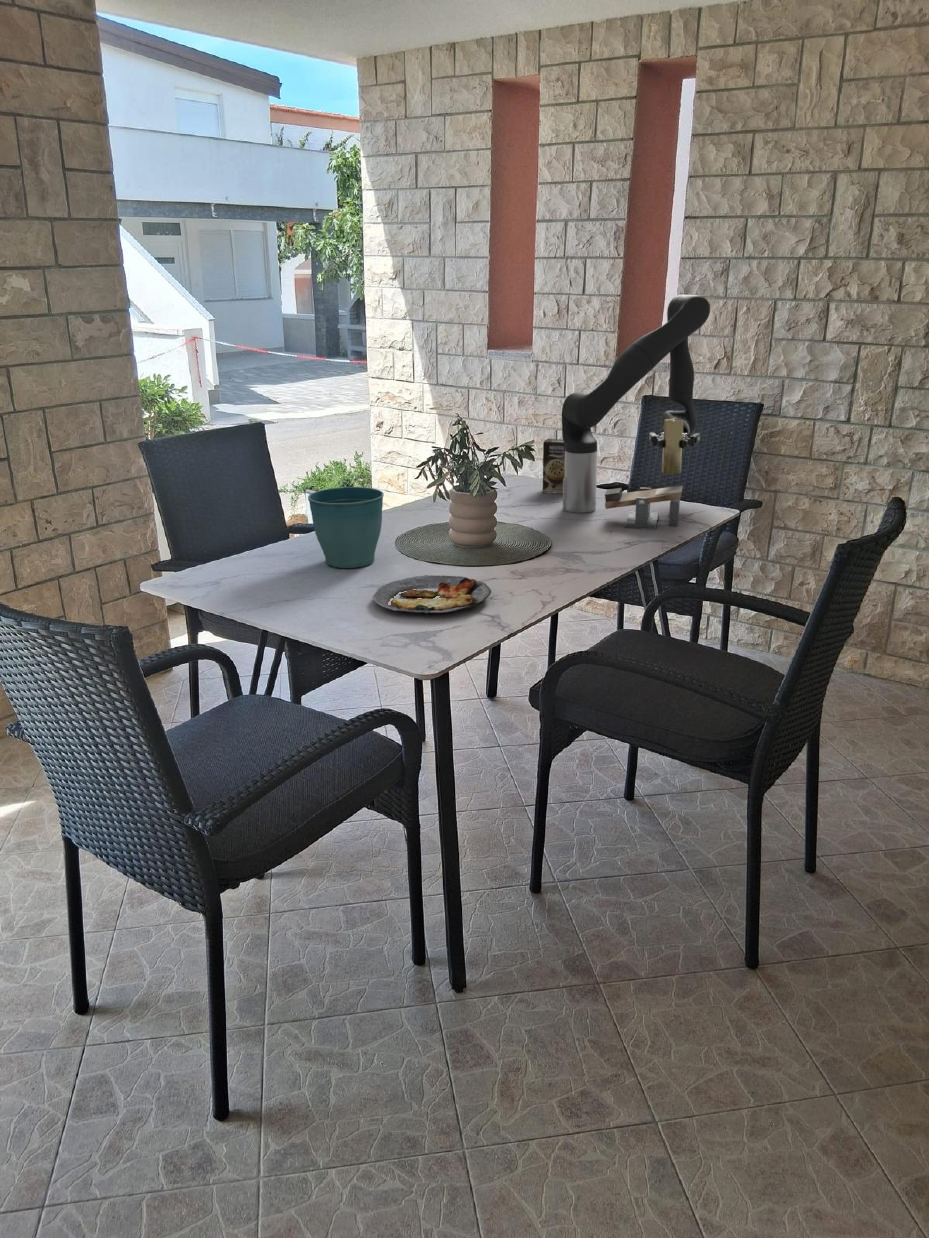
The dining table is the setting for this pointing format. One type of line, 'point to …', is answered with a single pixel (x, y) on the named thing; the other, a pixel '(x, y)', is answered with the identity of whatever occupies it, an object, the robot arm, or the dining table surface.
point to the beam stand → (650, 514)
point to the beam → (654, 495)
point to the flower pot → (347, 524)
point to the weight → (672, 446)
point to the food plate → (433, 594)
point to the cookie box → (553, 465)
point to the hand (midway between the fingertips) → (672, 444)
